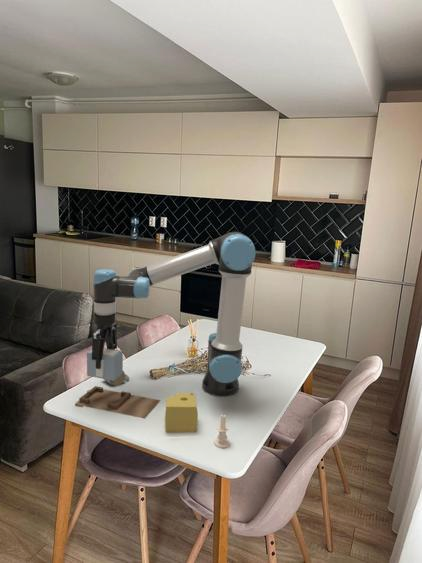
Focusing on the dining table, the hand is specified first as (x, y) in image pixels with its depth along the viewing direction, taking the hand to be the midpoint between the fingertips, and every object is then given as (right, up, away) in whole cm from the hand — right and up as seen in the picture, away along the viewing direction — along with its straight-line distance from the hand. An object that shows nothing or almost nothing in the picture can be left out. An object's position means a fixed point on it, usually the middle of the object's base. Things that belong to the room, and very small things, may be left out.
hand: (104, 372), depth 157 cm
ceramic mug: (0, -8, +19) cm, 20 cm away
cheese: (+29, -16, -12) cm, 35 cm away
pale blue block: (0, -1, 0) cm, 1 cm away
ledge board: (+5, -12, +1) cm, 13 cm away
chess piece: (+43, -18, -21) cm, 51 cm away
